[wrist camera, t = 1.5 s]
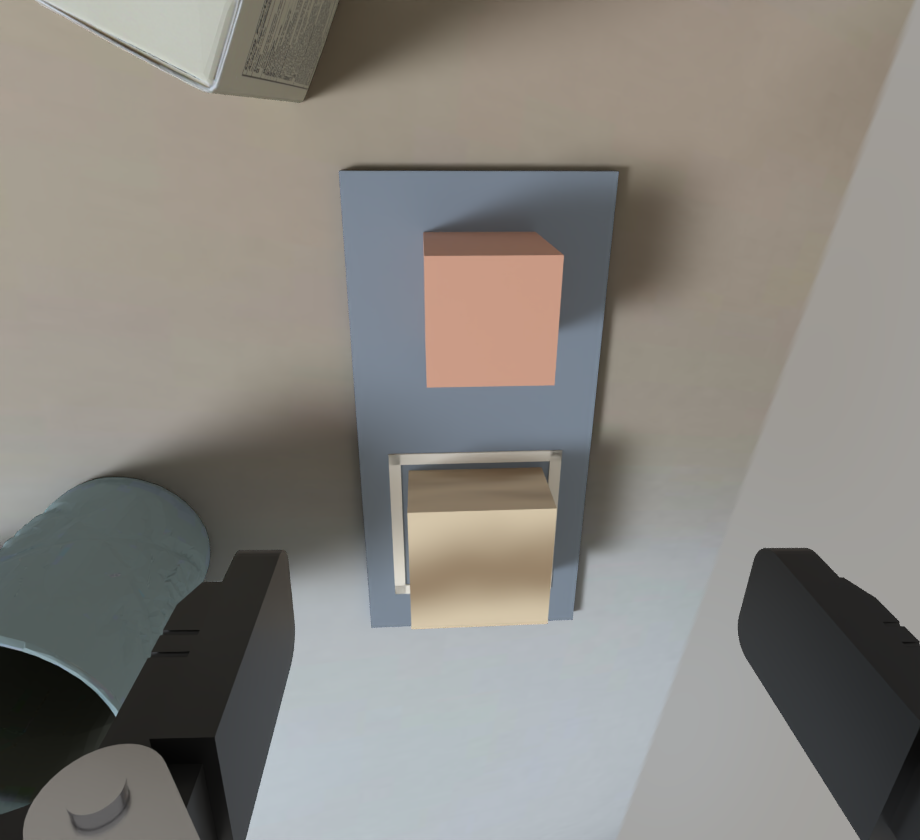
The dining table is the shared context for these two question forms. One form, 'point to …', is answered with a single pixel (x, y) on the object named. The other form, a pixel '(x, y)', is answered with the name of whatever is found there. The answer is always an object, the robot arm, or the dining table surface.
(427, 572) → the oak base block
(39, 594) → the grey-green pot
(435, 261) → the terracotta block
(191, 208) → the dining table surface
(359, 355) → the board
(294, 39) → the skincare box
